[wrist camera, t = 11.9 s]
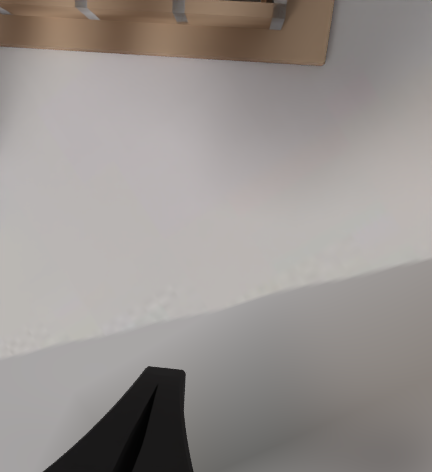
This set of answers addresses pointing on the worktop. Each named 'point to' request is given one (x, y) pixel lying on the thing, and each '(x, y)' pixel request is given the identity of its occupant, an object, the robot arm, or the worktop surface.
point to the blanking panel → (245, 0)
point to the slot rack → (174, 28)
